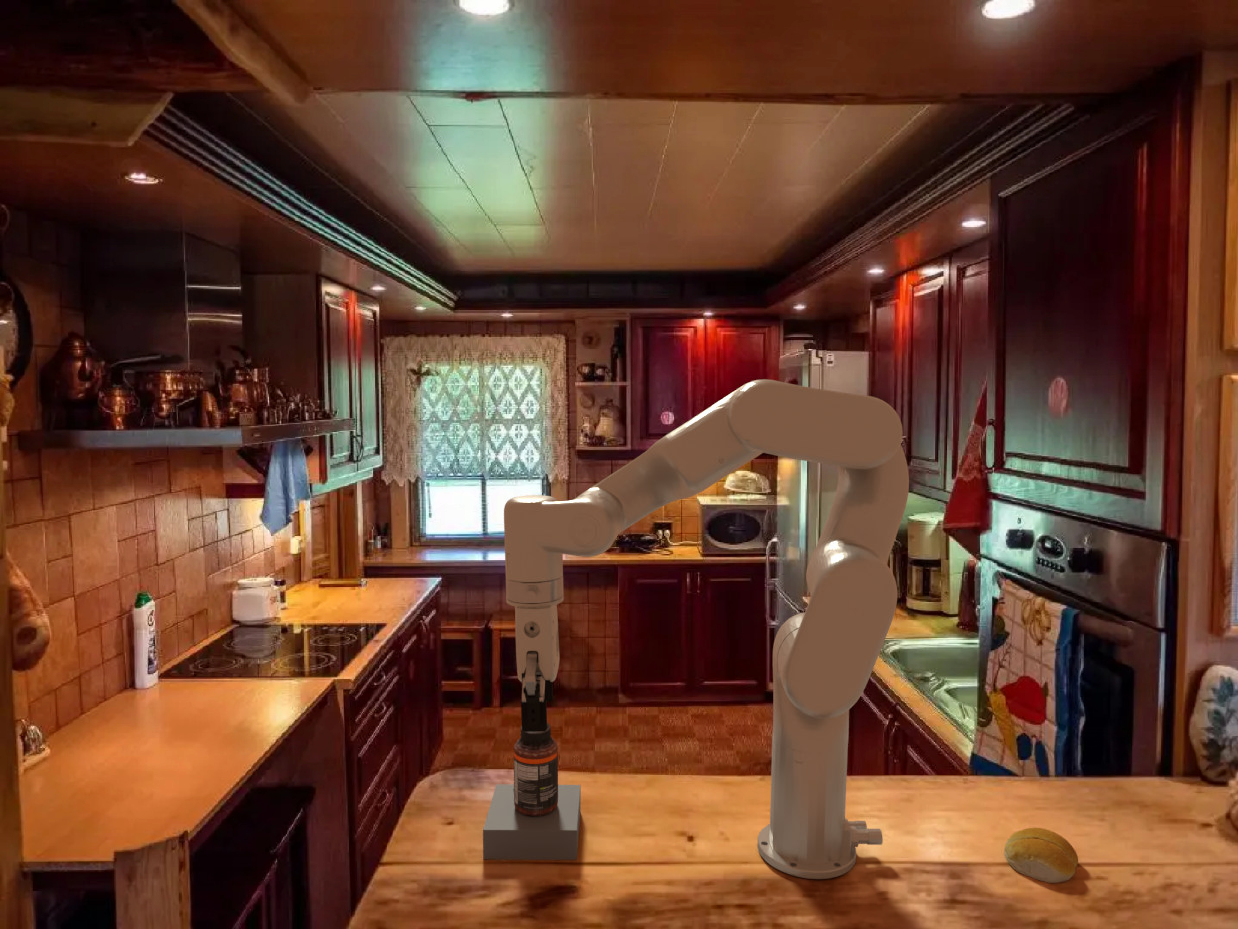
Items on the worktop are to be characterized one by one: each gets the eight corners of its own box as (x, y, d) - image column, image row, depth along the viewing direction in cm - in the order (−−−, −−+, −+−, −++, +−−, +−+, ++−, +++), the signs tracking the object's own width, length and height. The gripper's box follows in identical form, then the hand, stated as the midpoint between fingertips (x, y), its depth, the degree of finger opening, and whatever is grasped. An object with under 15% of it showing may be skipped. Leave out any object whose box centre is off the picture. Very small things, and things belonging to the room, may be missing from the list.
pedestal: (580, 811, 118) (580, 785, 117) (576, 860, 106) (576, 830, 105) (496, 811, 118) (496, 784, 117) (483, 859, 106) (482, 830, 105)
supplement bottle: (532, 791, 115) (532, 713, 114) (566, 803, 112) (567, 723, 111) (504, 809, 110) (504, 728, 109) (539, 823, 107) (540, 739, 106)
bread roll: (1080, 859, 107) (1082, 829, 107) (1071, 893, 100) (1073, 862, 100) (1011, 838, 112) (1012, 810, 112) (997, 869, 105) (999, 839, 104)
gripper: (558, 606, 100) (562, 743, 101) (567, 574, 117) (569, 691, 119) (496, 608, 100) (501, 744, 101) (514, 575, 117) (517, 692, 119)
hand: (538, 715), depth 110 cm, fingers open, 9 cm apart
